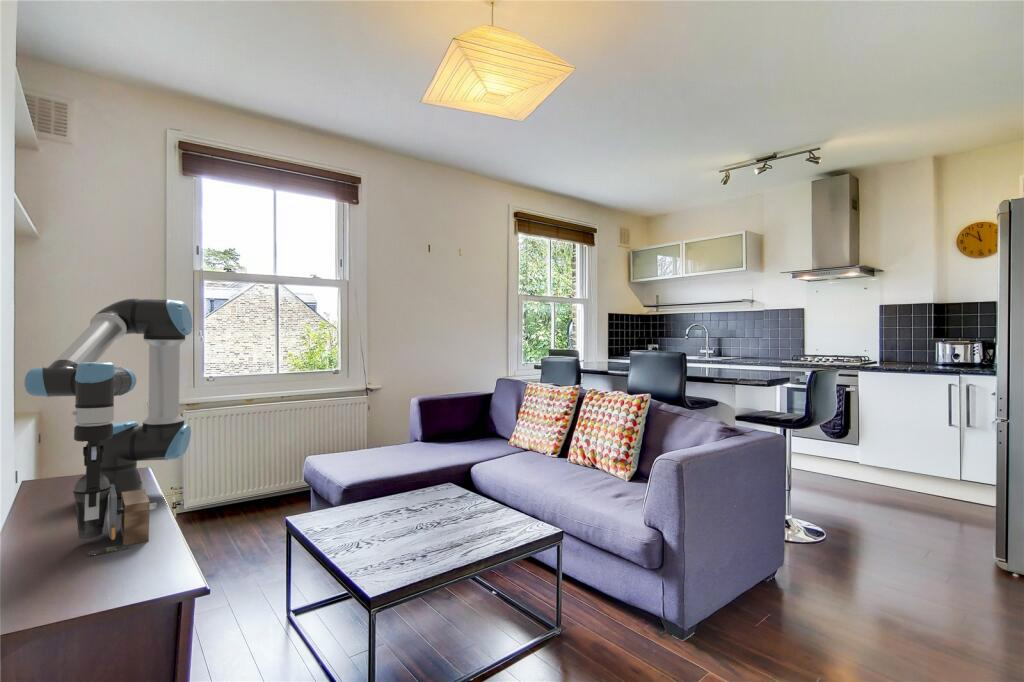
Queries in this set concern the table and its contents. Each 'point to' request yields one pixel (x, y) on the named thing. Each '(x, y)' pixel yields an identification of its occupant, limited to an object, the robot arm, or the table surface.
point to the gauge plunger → (116, 511)
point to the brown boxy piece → (132, 520)
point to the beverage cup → (84, 527)
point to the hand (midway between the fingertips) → (91, 514)
